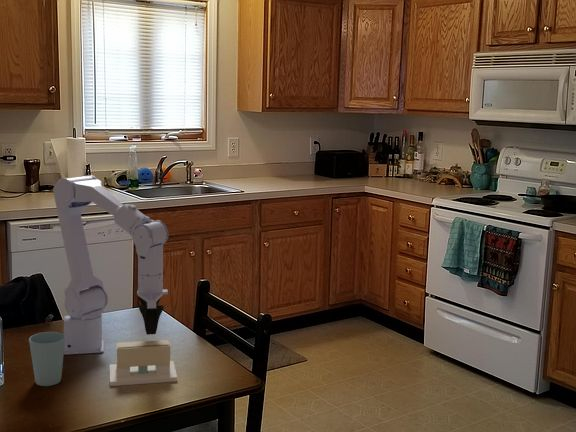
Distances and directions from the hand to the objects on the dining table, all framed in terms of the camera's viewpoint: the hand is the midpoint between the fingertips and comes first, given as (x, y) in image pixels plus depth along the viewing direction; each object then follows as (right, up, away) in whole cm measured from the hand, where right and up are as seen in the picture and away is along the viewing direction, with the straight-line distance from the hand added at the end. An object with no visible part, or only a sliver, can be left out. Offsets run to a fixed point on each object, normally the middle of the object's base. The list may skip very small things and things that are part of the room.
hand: (150, 328), depth 163 cm
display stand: (-1, -11, -2) cm, 11 cm away
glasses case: (-1, -8, -3) cm, 8 cm away
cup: (-22, -11, -7) cm, 25 cm away
